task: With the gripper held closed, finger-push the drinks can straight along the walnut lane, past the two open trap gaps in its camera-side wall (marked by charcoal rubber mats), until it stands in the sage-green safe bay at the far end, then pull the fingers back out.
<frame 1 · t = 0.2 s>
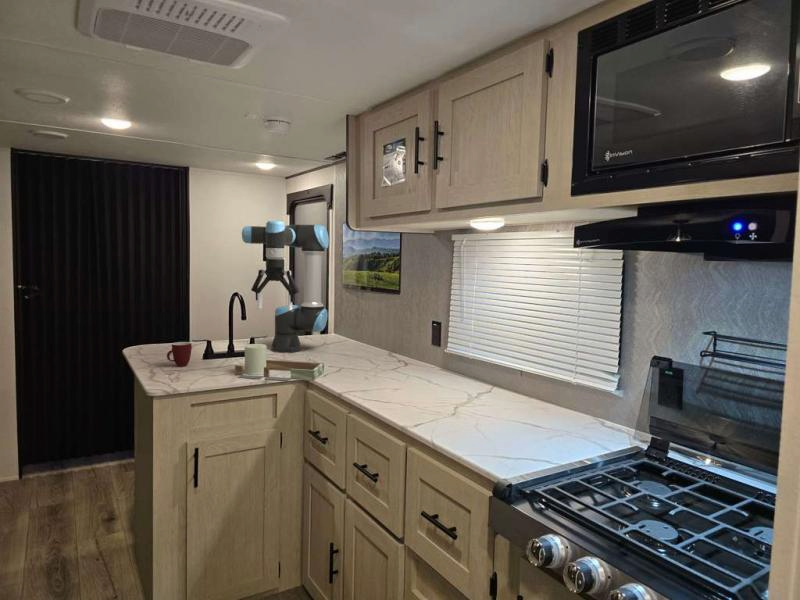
hand: (274, 309, 225), 28 cm above the worktop, fingers open, 13 cm apart
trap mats: (272, 378, 219), on the worktop
mug: (179, 366, 236), on the worktop
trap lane: (280, 373, 228), on the worktop
can: (255, 372, 229), on the worktop
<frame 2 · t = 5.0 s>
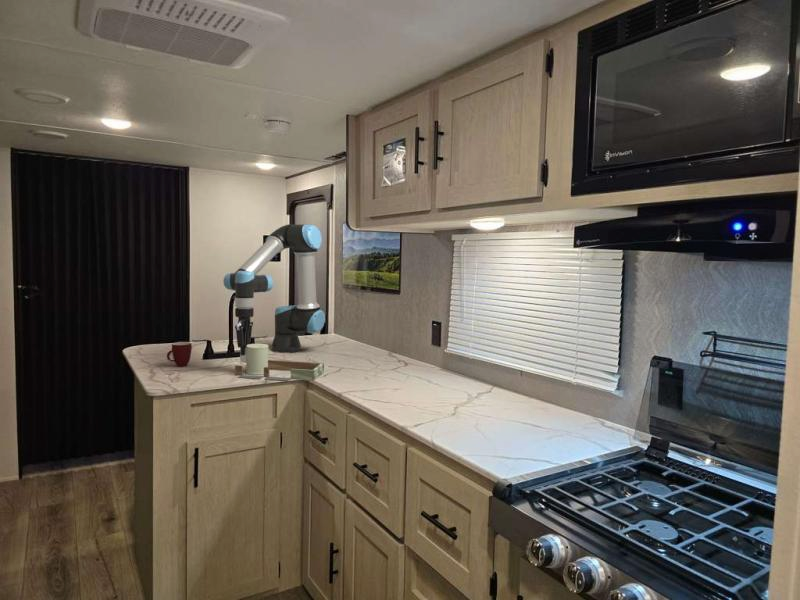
hand: (243, 362, 229), 4 cm above the worktop, fingers closed
can: (257, 372, 229), on the worktop, touching gripper
everything else where it was.
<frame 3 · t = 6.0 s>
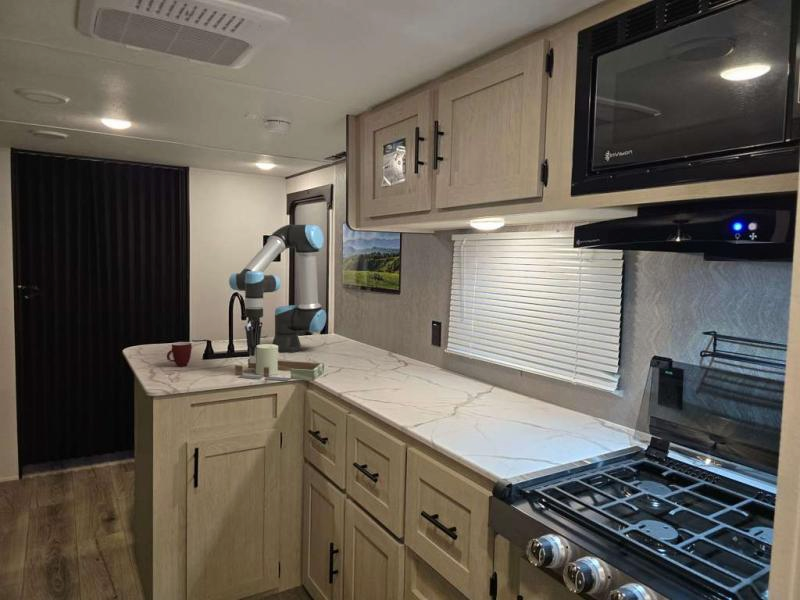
hand: (253, 362, 229), 4 cm above the worktop, fingers closed
can: (266, 373, 229), on the worktop, touching gripper
everything else where it was.
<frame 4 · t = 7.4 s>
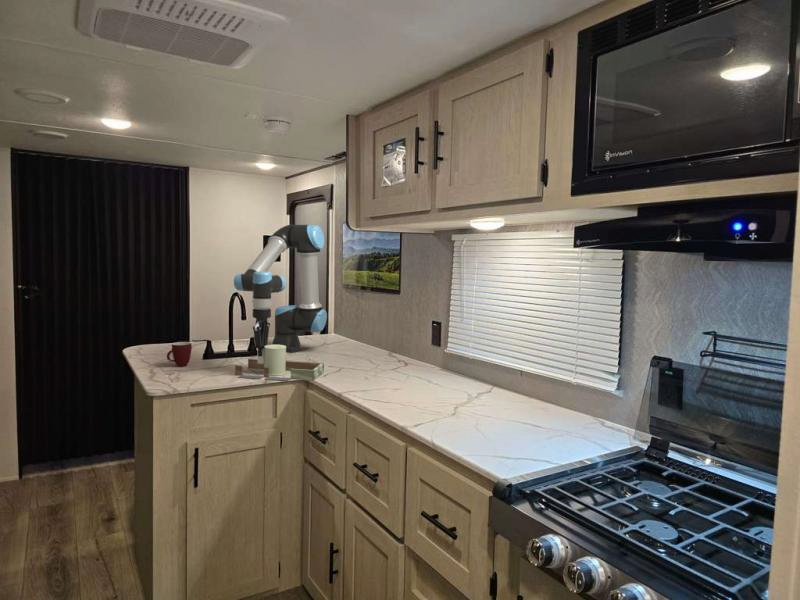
hand: (261, 363, 228), 4 cm above the worktop, fingers closed
can: (274, 373, 228), on the worktop, touching gripper
everything else where it was.
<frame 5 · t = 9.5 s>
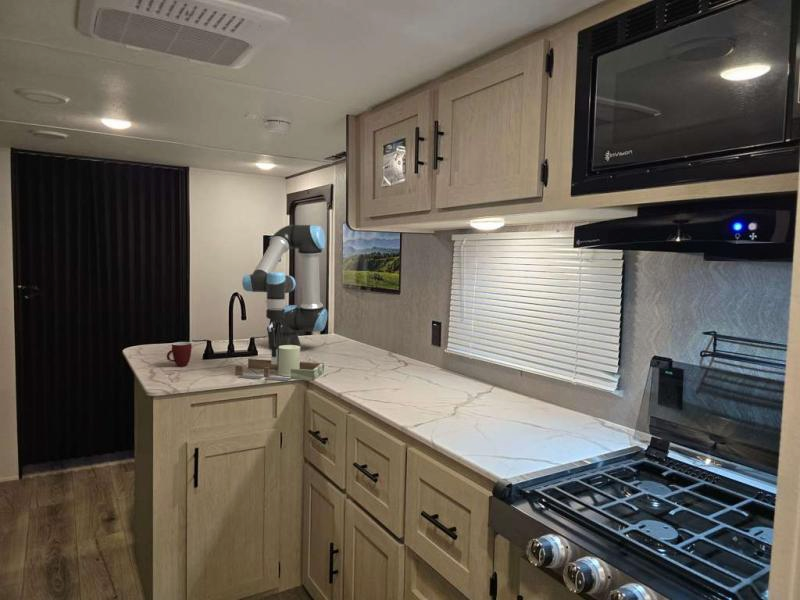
hand: (274, 364, 227), 4 cm above the worktop, fingers closed
can: (288, 374, 228), on the worktop, touching gripper
everything else where it was.
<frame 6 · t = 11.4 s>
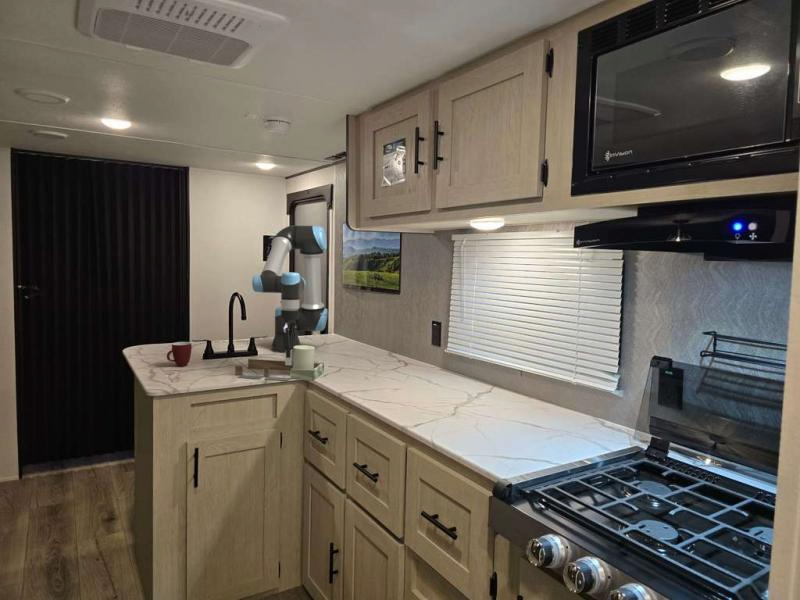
hand: (288, 364, 226), 4 cm above the worktop, fingers closed
can: (302, 374, 228), on the worktop, touching gripper, hand, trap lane
everything else where it was.
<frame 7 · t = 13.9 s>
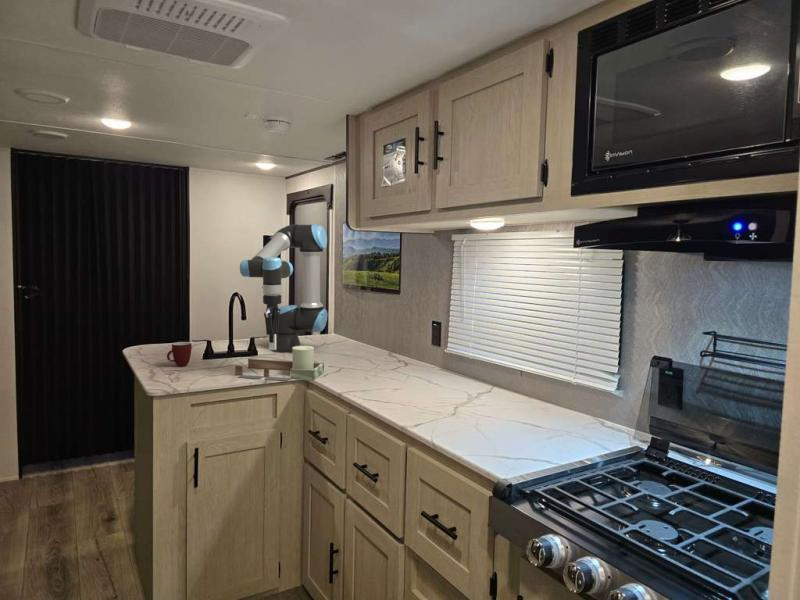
hand: (272, 349, 228), 10 cm above the worktop, fingers closed
can: (302, 374, 228), on the worktop
everything else where it was.
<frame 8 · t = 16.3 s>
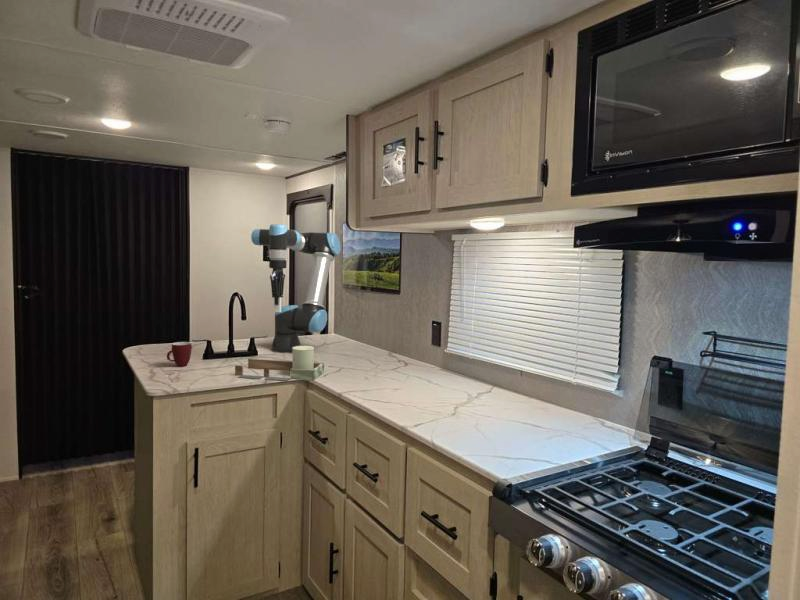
hand: (277, 311, 241), 24 cm above the worktop, fingers closed
nothing on the worktop moved.
at the end: can inside the target area (2.3 cm from its centre), on the worktop; can tilted 0°; the gripper is holding nothing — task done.
